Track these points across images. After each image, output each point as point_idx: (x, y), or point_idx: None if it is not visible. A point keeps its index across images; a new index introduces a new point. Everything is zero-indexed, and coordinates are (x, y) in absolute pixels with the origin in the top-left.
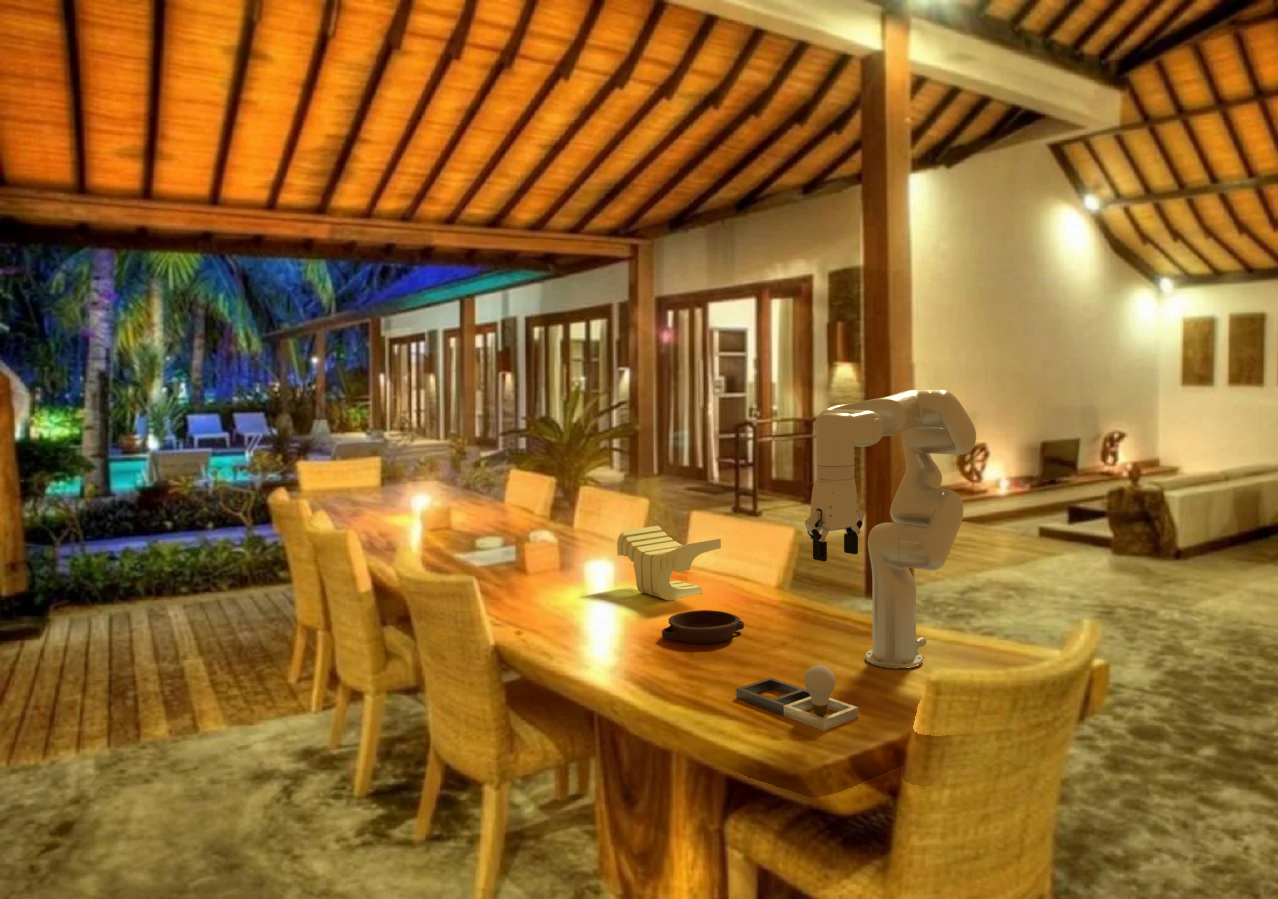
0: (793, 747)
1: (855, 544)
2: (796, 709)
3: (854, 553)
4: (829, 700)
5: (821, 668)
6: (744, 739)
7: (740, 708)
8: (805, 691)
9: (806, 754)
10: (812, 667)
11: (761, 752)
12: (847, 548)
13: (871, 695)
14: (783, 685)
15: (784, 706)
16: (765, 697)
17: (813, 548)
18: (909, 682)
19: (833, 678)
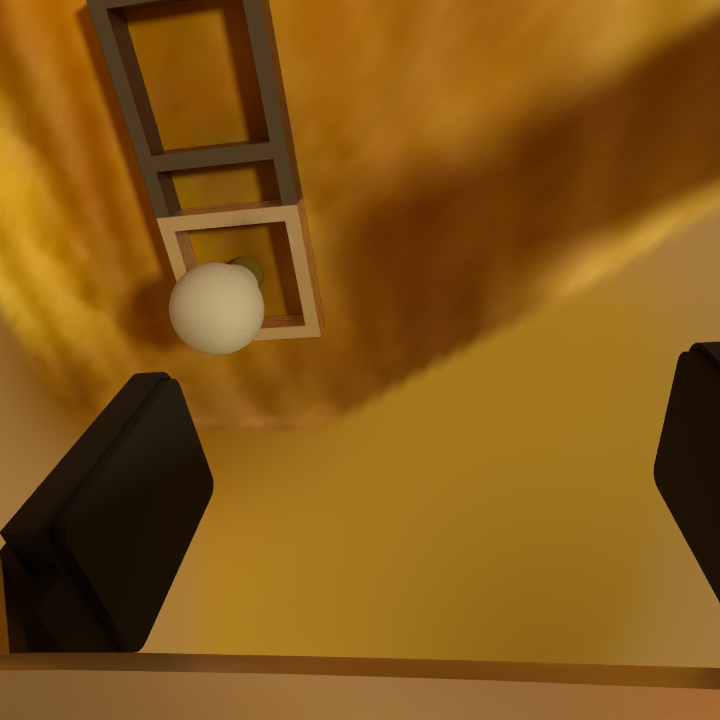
0: (104, 350)
1: (701, 567)
2: (175, 258)
3: (658, 470)
4: (293, 259)
5: (199, 343)
6: (18, 263)
7: (80, 85)
8: (276, 167)
9: (113, 384)
10: (184, 314)
11: (32, 331)
12: (695, 422)
13: (472, 240)
14: (255, 62)
15: (157, 221)
16: (139, 132)
17: (78, 453)
18: (654, 232)
19: (237, 350)
